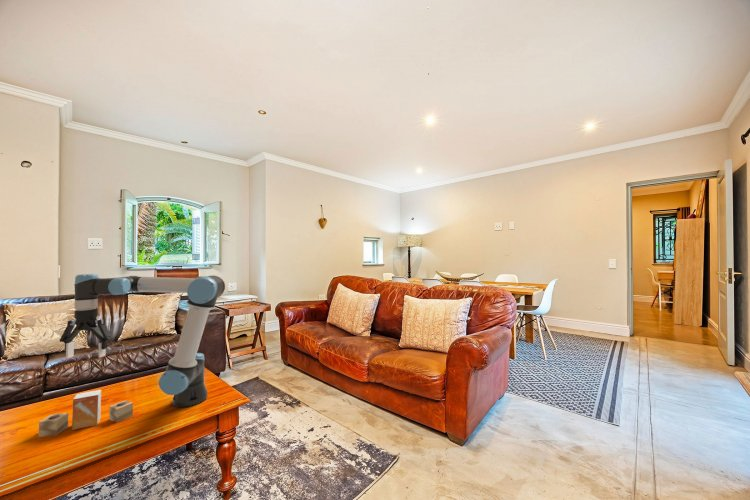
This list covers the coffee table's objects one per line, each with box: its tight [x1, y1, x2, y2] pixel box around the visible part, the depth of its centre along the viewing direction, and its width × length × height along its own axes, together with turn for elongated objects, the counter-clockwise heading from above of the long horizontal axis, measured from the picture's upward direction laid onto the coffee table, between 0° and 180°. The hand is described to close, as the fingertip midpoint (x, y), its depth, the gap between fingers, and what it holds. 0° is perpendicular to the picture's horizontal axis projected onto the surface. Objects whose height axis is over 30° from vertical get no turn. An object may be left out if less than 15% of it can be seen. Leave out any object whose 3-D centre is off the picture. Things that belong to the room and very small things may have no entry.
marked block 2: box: [108, 400, 134, 423], centre depth 136 cm, size 6×6×6 cm
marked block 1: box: [38, 412, 70, 438], centre depth 125 cm, size 6×6×6 cm
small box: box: [71, 389, 102, 431], centre depth 130 cm, size 8×6×13 cm
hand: (86, 357), depth 133 cm, fingers open, 13 cm apart
